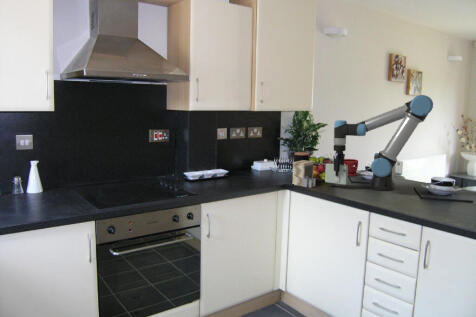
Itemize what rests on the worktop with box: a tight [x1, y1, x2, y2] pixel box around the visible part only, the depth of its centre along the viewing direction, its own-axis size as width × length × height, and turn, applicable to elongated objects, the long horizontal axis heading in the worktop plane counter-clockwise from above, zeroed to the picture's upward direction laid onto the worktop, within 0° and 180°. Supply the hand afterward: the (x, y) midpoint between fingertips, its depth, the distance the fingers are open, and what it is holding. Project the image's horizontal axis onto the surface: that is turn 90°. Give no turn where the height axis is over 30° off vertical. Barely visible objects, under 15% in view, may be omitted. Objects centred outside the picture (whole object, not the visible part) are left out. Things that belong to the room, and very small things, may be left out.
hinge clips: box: [301, 176, 317, 188], centre depth 259 cm, size 6×6×6 cm
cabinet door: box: [324, 163, 349, 185], centre depth 254 cm, size 14×4×12 cm, turn 53°
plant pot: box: [344, 158, 359, 177], centre depth 302 cm, size 13×13×12 cm
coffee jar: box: [293, 151, 310, 162], centre depth 288 cm, size 11×11×18 cm
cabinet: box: [291, 160, 315, 187], centre depth 266 cm, size 9×14×15 cm, turn 143°
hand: (338, 180), depth 254 cm, fingers closed on cabinet door, 3 cm apart
